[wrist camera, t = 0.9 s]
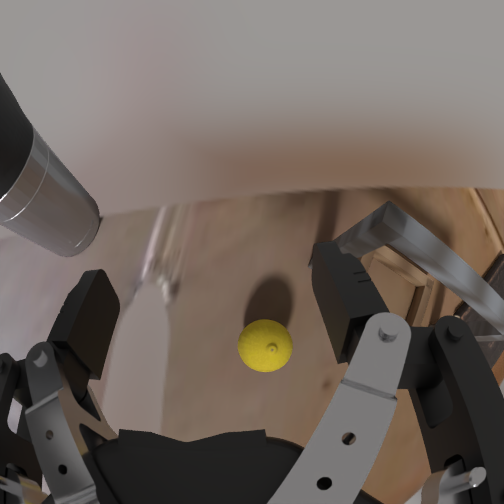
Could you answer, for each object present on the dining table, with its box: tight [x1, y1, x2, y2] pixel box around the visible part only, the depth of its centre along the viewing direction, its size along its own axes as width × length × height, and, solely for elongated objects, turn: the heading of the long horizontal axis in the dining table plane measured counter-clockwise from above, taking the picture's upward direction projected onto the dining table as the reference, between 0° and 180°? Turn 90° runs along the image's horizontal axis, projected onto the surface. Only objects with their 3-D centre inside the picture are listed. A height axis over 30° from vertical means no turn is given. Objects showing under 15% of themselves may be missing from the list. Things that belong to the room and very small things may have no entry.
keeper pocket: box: [308, 201, 504, 341], centre depth 26 cm, size 24×12×17 cm, turn 61°
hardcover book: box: [453, 254, 504, 369], centre depth 36 cm, size 16×23×2 cm
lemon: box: [238, 319, 293, 372], centre depth 28 cm, size 6×6×8 cm
